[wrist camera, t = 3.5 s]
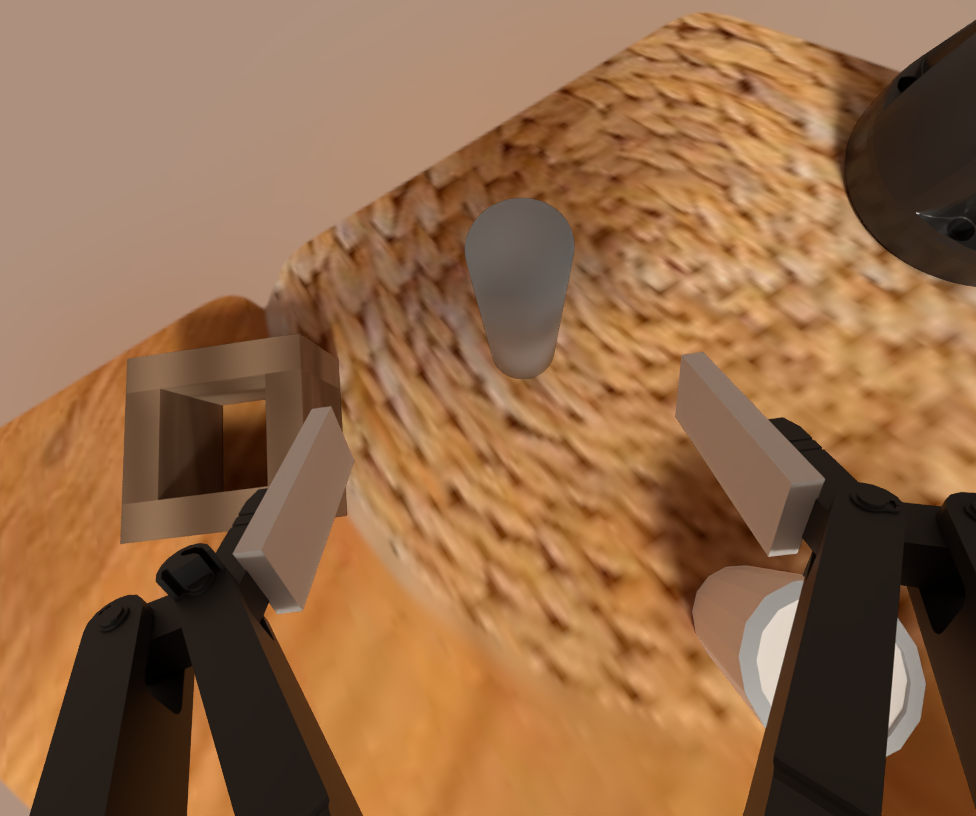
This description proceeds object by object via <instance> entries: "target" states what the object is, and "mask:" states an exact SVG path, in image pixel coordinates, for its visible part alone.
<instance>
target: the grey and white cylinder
mask: <svg viewBox="0 0 976 816" xmlns="http://www.w3.org/2000/svg"><path fill="white" fill-rule="evenodd" d="M804 578H805V577H803V574H797V573H791V572H785V571H778V570H772V569H766V568H760V567H754V566H748V565H743V566H729V567H724V568H723V569H721V570H719V571H717V572H715V573H713V574H711V575H709V576H708V577H707V579H706V580H705V581H704V583H703V584H702V585H701V587H700V588H699V589H698V591H697V593H696V597H695V601H694V605H693V610H692V614H693V620H694V626H695V633H696V635H697V636H698V638H699V640H700V642H701V643H702V645H703V647H704V649H705V650H706V652H707V653H708V655H709V656H710V657H711V659H712V660H713V661H714V662H715V664H716V665H717V666H718V668H719V669H720V670H721V672H722V673H723V674H724V675H725V677H726V678H727V679H728V681H729V682H730V683H731V684H732V686H733V687H734V688H735V690H736V691H737V692H738V693H739V695H740V696H741V697H742V699H743V700H744V701H745V703H746V704H747V705H748V706H749V708H750V709H751V710H752V712H753V713H754V714H755V715H756V717H757V718H758V719H759V721H760V722H761V723H762V725H763V726H764V727H765V728H766V725H767V721H768V718H769V714H770V710H771V706H772V702H773V698H774V694H775V690H776V687H777V683H778V679H779V675H780V671H781V667H782V663H783V659H784V656H785V652H786V648H787V644H788V640H789V636H790V632H791V628H792V624H793V621H794V617H795V613H796V609H797V605H798V601H799V597H800V593H801V590H802V586H803V582H804ZM925 686H926V682H925V678H924V674H923V670H922V666H921V662H920V658H919V654H918V650H917V646H916V644H915V643H914V641H913V640H912V639H911V637H910V636H909V634H908V633H907V631H906V630H905V628H904V627H903V625H902V624H901V622H900V621H899V619H897V631H896V643H895V655H894V667H893V679H892V692H891V704H890V716H889V728H888V740H887V752H886V757H887V756H888V755H890V754H892V753H894V752H896V751H898V750H900V749H901V748H902V746H903V745H904V743H905V742H906V740H907V739H908V737H909V736H910V734H911V733H912V732H913V730H914V729H915V727H916V726H917V724H918V723H919V721H920V719H921V712H922V706H923V699H924V693H925Z"/></svg>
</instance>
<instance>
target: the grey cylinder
mask: <svg viewBox="0 0 976 816" xmlns="http://www.w3.org/2000/svg"><path fill="white" fill-rule="evenodd" d="M574 247H575V244H574V237H573V233H572V230H571V228H570V225H569V224H568V222H567V220H566V219H565V218H564V216H563V215H562V214H561V213H560V212H559V211H558V210H556V209H555V208H554V207H552V206H550V205H549V204H547V203H545V202H542V201H539V200H535V199H530V198H513V199H508V200H504V201H501V202H499V203H496V204H494V205H492V206H491V207H489V208H488V209H486V210H485V211H484V212H483V213H481V214H480V216H479V217H478V218H477V219H476V220H475V221H474V223H473V224H472V226H471V228H470V230H469V232H468V235H467V238H466V242H465V258H466V263H467V266H468V270H469V274H470V277H471V281H472V285H473V288H474V292H475V296H476V299H477V303H478V307H479V310H480V314H481V318H482V321H483V325H484V329H485V332H486V336H487V340H488V343H489V347H490V351H491V354H492V358H493V361H494V363H495V364H496V366H497V367H498V368H499V370H500V371H502V372H503V373H504V374H506V375H507V376H509V377H512V378H516V379H529V378H533V377H536V376H538V375H540V374H541V373H542V372H544V371H545V370H546V369H547V368H548V366H549V365H550V364H551V362H552V359H553V356H554V352H555V347H556V342H557V337H558V332H559V327H560V321H561V316H562V311H563V306H564V301H565V296H566V291H567V286H568V281H569V276H570V271H571V266H572V261H573V256H574Z"/></svg>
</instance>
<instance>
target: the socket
mask: <svg viewBox="0 0 976 816" xmlns="http://www.w3.org/2000/svg"><path fill="white" fill-rule="evenodd" d="M265 399H266V432H267V474H268V486H267V487H259V488H251V489H243V490H235V491H227V492H223V425H222V405H229V404H236V403H243V402H251V401H258V400H265ZM329 406H331V407H332V409H333V412H334V414H335V416H336V419H337V421H338V424H339V426H340V428H341V431H342V416H341V398H340V380H339V362H338V359H337V358H335V357H334V356H332V355H331V354H329V353H328V352H326V351H325V350H323V349H322V348H320V347H319V346H317V345H316V344H315V343H313V342H312V341H310V340H309V339H307V338H306V337H304V336H303V335H301V334H300V333H299V334H292V335H285V336H278V337H272V338H265V339H258V340H251V341H245V342H238V343H231V344H224V345H218V346H211V347H204V348H197V349H191V350H184V351H177V352H170V353H164V354H157V355H150V356H143V357H136V358H130V359H127V380H126V407H125V434H124V461H123V488H122V515H121V541H120V544H125V543H133V542H142V541H150V540H158V539H167V538H175V537H184V536H192V535H201V534H209V533H218V532H226V531H229V529H230V528H232V524H233V523H234V521H235V519H236V518H237V517H238V514H239V512H240V511H241V509H242V507H243V506H244V504H245V502H246V501H247V500H248V499H249V498H250V497H251V496H252V495H253V494H254V493H255V492H256V491H257V490H258V489H265V488H269V486H270V484H271V483H272V481H273V479H274V477H275V475H276V474H277V472H278V470H279V468H280V466H281V464H282V463H283V461H284V459H285V457H286V455H287V453H288V452H289V450H290V448H291V446H292V444H293V442H294V441H295V439H296V437H297V435H298V433H299V431H300V430H301V428H302V426H303V424H304V422H305V421H306V419H307V417H308V415H309V413H310V411H311V410H312V409H316V408H323V407H329ZM341 516H347V505H346V487H345V489H344V492H343V495H342V498H341V501H340V504H339V507H338V510H337V513H336V516H335V517H341Z"/></svg>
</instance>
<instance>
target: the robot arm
mask: <svg viewBox="0 0 976 816" xmlns="http://www.w3.org/2000/svg"><path fill="white" fill-rule="evenodd" d="M845 173H846V181H847V186H848V190H849V194H850V197H851V199H852V202H853V204H854V206H855V209H856V211H857V212H858V214H859V216H860V218H861V219H862V221H863V222H864V224H865V225H866V226H867V228H868V229H869V230H870V232H871V233H872V234H873V235H874V236H875V237H876V238H877V239H878V240H879V241H880V242H881V243H882V244H883V245H884V246H885V247H886V248H887V249H888V250H889V251H891V252H892V253H893V254H895V255H896V256H897V257H899V258H900V259H902V260H903V261H905V262H906V263H908V264H910V265H911V266H913V267H915V268H917V269H919V270H921V271H923V272H925V273H927V274H930V275H932V276H935V277H937V278H940V279H943V280H946V281H950V282H953V283H957V284H962V285H967V286H974V287H976V20H975V21H973V22H972V23H971V24H969V25H967V26H966V27H965V28H963V29H961V30H960V31H959V32H957V33H956V34H954V35H953V36H951V37H950V38H948V39H947V40H945V41H944V42H942V43H941V44H939V45H938V46H936V47H935V48H933V49H932V50H930V51H929V52H927V53H926V54H925V55H923V56H922V57H920V58H919V59H917V60H916V61H914V62H913V63H912V64H910V65H909V66H908V67H907V68H906V69H904V70H903V71H902V72H901V73H900V74H899V75H898V76H897V77H896V78H895V79H893V81H892V82H891V83H890V84H889V85H888V86H887V87H886V88H885V89H884V91H883V92H882V93H881V94H880V95H879V96H878V97H877V98H876V99H875V100H874V102H873V103H872V104H871V105H870V106H869V107H868V108H867V109H866V111H865V112H864V113H863V114H862V116H861V117H860V119H859V120H858V122H857V124H856V125H855V127H854V129H853V131H852V134H851V136H850V139H849V143H848V146H847V151H846V159H845ZM675 417H676V419H677V420H678V422H679V423H680V425H681V426H682V428H683V429H684V431H685V432H686V434H687V435H688V437H689V438H690V440H691V441H692V443H693V444H694V446H695V447H696V449H697V450H698V452H699V453H700V455H701V456H702V458H703V459H704V461H705V462H706V464H707V465H708V467H709V468H710V470H711V471H712V473H713V474H714V476H715V477H716V479H717V480H718V482H719V483H720V485H721V486H722V488H723V489H724V491H725V492H726V494H727V495H728V497H729V499H730V500H731V502H732V503H733V505H734V506H735V508H736V509H737V511H738V512H739V514H740V515H741V517H742V518H743V520H744V521H745V523H746V524H747V526H748V527H749V529H750V530H751V532H752V533H753V535H754V536H755V538H756V539H757V541H758V542H759V544H760V545H761V547H762V548H763V550H764V551H765V553H766V554H767V556H768V557H771V556H780V555H788V554H797V553H798V550H799V548H800V545H801V542H802V540H803V539H804V541H805V542H806V543H807V544H808V546H809V547H810V548H811V550H812V553H811V556H810V558H809V561H808V563H807V566H806V568H805V571H804V573H803V577H805V578H804V582H803V586H802V590H801V593H800V597H799V601H798V605H797V609H796V613H795V617H794V621H793V624H792V628H791V632H790V636H789V640H788V644H787V648H786V652H785V656H784V659H783V663H782V667H781V671H780V675H779V679H778V683H777V687H776V690H775V694H774V698H773V702H772V706H771V710H770V714H769V718H768V721H767V725H766V729H765V733H764V737H763V741H762V745H761V749H760V753H759V756H758V760H757V764H756V768H755V772H754V776H753V780H752V784H751V787H750V791H749V795H748V799H747V803H746V807H745V810H744V813H743V816H881V812H882V800H883V788H884V776H885V764H886V752H887V740H888V728H889V716H890V704H891V692H892V679H893V667H894V655H895V643H896V631H897V619H898V607H899V595H900V585H904V586H907V589H908V592H909V595H910V598H911V601H912V605H913V608H914V611H915V614H916V618H917V621H918V624H919V627H920V631H921V634H922V637H923V640H924V644H925V647H926V650H927V653H928V656H929V660H930V663H931V666H932V669H933V673H934V676H935V679H936V682H937V686H938V689H939V692H940V695H941V698H942V702H943V705H944V708H945V711H946V715H947V718H948V721H949V724H950V728H951V731H952V734H953V737H954V741H955V744H956V747H957V750H958V753H959V757H960V760H961V763H962V766H963V770H964V773H965V776H966V779H967V783H968V786H969V789H970V792H971V795H972V799H973V802H974V805H975V808H976V493H967V492H959V493H955V494H951V495H950V496H949V497H948V498H947V499H946V500H945V501H944V503H943V505H942V506H931V505H922V504H912V503H904V502H901V501H900V500H899V498H898V497H897V496H895V495H893V494H892V493H890V492H889V491H887V490H885V489H883V488H880V487H877V486H875V485H871V484H866V483H860V482H858V481H856V480H855V479H854V478H853V477H852V476H851V475H850V474H849V473H848V472H847V471H846V470H845V469H844V468H843V467H842V466H841V465H840V464H839V463H838V462H837V461H836V460H835V459H834V458H833V457H831V456H830V455H829V454H828V453H827V452H826V451H825V450H822V447H821V446H820V445H819V444H818V443H817V442H816V441H815V440H812V437H811V436H810V435H809V434H808V433H807V432H805V431H804V430H803V429H802V428H801V427H800V426H798V425H796V424H795V423H793V422H791V421H789V420H787V419H785V418H783V417H782V418H775V419H767V418H766V417H765V416H764V415H763V414H762V413H761V412H760V411H759V410H758V409H757V408H756V406H755V405H754V404H753V403H752V402H751V401H750V400H749V399H748V398H747V397H746V396H745V395H744V394H743V393H742V392H741V391H740V390H739V389H738V388H737V387H736V386H735V385H734V384H733V383H732V381H731V380H730V379H729V378H728V377H727V376H726V375H725V374H724V373H723V372H722V371H721V370H720V369H719V368H718V367H717V366H716V365H715V364H714V363H713V362H712V361H711V360H710V359H709V358H708V356H707V355H706V354H705V353H704V352H699V353H692V354H686V355H682V356H681V366H680V375H679V385H678V395H677V404H676V414H675ZM353 463H354V459H353V457H352V454H351V452H350V449H349V447H348V445H347V442H346V440H345V438H344V435H343V433H342V431H341V428H340V426H339V424H338V421H337V419H336V416H335V414H334V412H333V409H332V407H331V406H329V407H323V408H316V409H312V410H311V411H310V413H309V415H308V417H307V419H306V421H305V422H304V424H303V426H302V428H301V430H300V431H299V433H298V435H297V437H296V439H295V441H294V442H293V444H292V446H291V448H290V450H289V452H288V453H287V455H286V457H285V459H284V461H283V463H282V464H281V466H280V468H279V470H278V472H277V474H276V475H275V477H274V479H273V481H272V483H271V484H270V486H269V488H265V489H258V490H257V491H256V492H255V493H254V494H253V495H252V496H251V497H250V498H249V499H248V500H247V501H246V502H245V504H244V506H243V507H242V509H241V511H240V512H239V514H238V517H237V518H236V519H235V521H234V523H233V524H232V528H230V529H229V531H228V533H227V535H226V536H225V538H224V540H223V541H222V543H221V545H220V546H219V548H218V550H217V552H216V553H215V552H214V551H213V550H212V548H211V547H209V546H208V545H207V544H202V543H199V544H194V545H190V546H187V547H185V548H183V549H181V550H179V551H178V552H176V553H175V554H173V555H172V556H171V557H169V558H168V559H167V560H166V561H165V562H164V563H163V564H162V565H161V567H160V569H159V571H158V572H157V574H156V582H157V583H158V585H159V586H160V587H161V588H162V589H163V590H164V591H165V592H166V593H167V594H168V596H165V597H163V598H160V599H157V600H155V601H152V602H150V603H146V602H145V601H144V600H143V599H142V598H141V597H139V596H138V595H127V596H124V597H121V598H118V599H116V600H114V601H113V602H111V603H109V604H107V605H106V606H105V607H103V608H102V609H101V610H100V611H98V612H97V613H96V614H95V615H94V617H93V618H92V619H91V620H90V621H89V622H88V624H87V626H86V628H85V630H84V632H83V635H82V638H81V642H80V645H79V649H78V652H77V655H76V659H75V662H74V666H73V669H72V672H71V676H70V679H69V683H68V686H67V690H66V693H65V696H64V700H63V703H62V707H61V710H60V713H59V717H58V720H57V724H56V727H55V730H54V734H53V737H52V741H51V744H50V747H49V751H48V754H47V758H46V761H45V764H44V768H43V771H42V775H41V778H40V781H39V785H38V788H37V792H36V795H35V798H34V802H33V805H32V809H31V812H30V815H29V816H187V803H188V784H189V766H190V747H191V729H192V710H193V692H194V673H195V677H196V680H197V684H198V687H199V691H200V694H201V698H202V701H203V705H204V709H205V712H206V716H207V719H208V723H209V726H210V730H211V733H212V737H213V740H214V744H215V747H216V751H217V754H218V758H219V761H220V765H221V768H222V772H223V775H224V779H225V783H226V786H227V790H228V793H229V797H230V800H231V804H232V807H233V811H234V814H235V816H363V815H362V813H361V810H360V808H359V806H358V804H357V802H356V800H355V798H354V796H353V794H352V792H351V790H350V788H349V786H348V784H347V782H346V780H345V778H344V776H343V774H342V772H341V770H340V767H339V765H338V763H337V761H336V759H335V757H334V755H333V753H332V751H331V749H330V747H329V745H328V743H327V741H326V739H325V737H324V735H323V733H322V731H321V729H320V727H319V725H318V722H317V720H316V718H315V716H314V714H313V712H312V710H311V708H310V706H309V704H308V702H307V700H306V698H305V696H304V694H303V692H302V690H301V688H300V686H299V684H298V682H297V679H296V677H295V675H294V673H293V671H292V669H291V667H290V665H289V663H288V661H287V659H286V657H285V655H284V653H283V651H282V649H281V647H280V645H279V643H278V641H277V639H276V637H275V634H274V632H273V630H272V628H271V626H270V624H269V622H268V621H267V619H266V618H265V617H264V613H265V610H266V608H267V606H268V603H270V605H271V606H272V607H273V609H274V610H275V611H276V613H277V614H281V613H290V612H299V611H303V609H304V606H305V603H306V600H307V597H308V594H309V591H310V588H311V586H312V583H313V580H314V577H315V574H316V571H317V568H318V565H319V562H320V559H321V556H322V553H323V551H324V548H325V545H326V542H327V539H328V536H329V533H330V530H331V527H332V524H333V521H334V519H335V516H336V513H337V510H338V507H339V504H340V501H341V498H342V495H343V492H344V489H345V487H346V484H347V481H348V478H349V475H350V472H351V469H352V466H353Z"/></svg>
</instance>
